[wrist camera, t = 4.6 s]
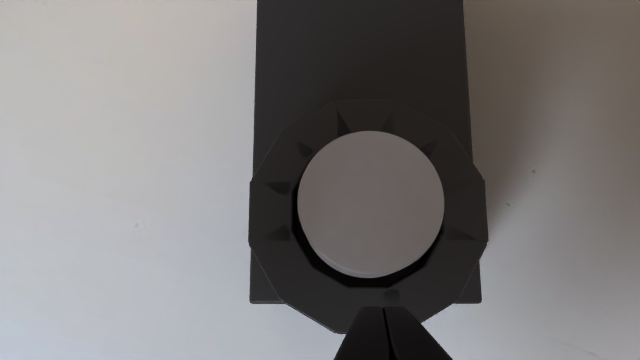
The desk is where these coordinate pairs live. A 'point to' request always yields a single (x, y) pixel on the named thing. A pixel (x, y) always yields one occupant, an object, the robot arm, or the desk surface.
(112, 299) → the desk surface
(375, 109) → the push button base
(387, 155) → the gray round disc
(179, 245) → the desk surface
